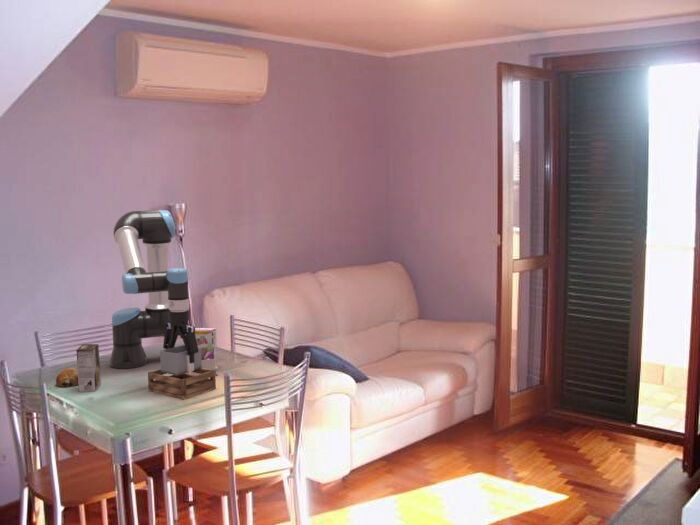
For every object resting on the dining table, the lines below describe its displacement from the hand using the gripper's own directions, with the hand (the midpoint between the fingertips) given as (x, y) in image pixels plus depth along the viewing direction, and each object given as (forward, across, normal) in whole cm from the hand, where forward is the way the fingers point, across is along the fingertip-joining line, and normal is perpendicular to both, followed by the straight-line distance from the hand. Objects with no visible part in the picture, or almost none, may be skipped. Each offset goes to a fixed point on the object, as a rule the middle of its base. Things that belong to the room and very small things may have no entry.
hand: (181, 369), depth 292 cm
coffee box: (+8, -31, -18) cm, 37 cm away
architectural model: (+8, -5, +18) cm, 21 cm away
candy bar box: (+8, -16, +26) cm, 32 cm away
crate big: (+8, 0, 0) cm, 8 cm away
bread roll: (+8, -43, -19) cm, 47 cm away
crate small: (0, 0, 0) cm, 0 cm away
